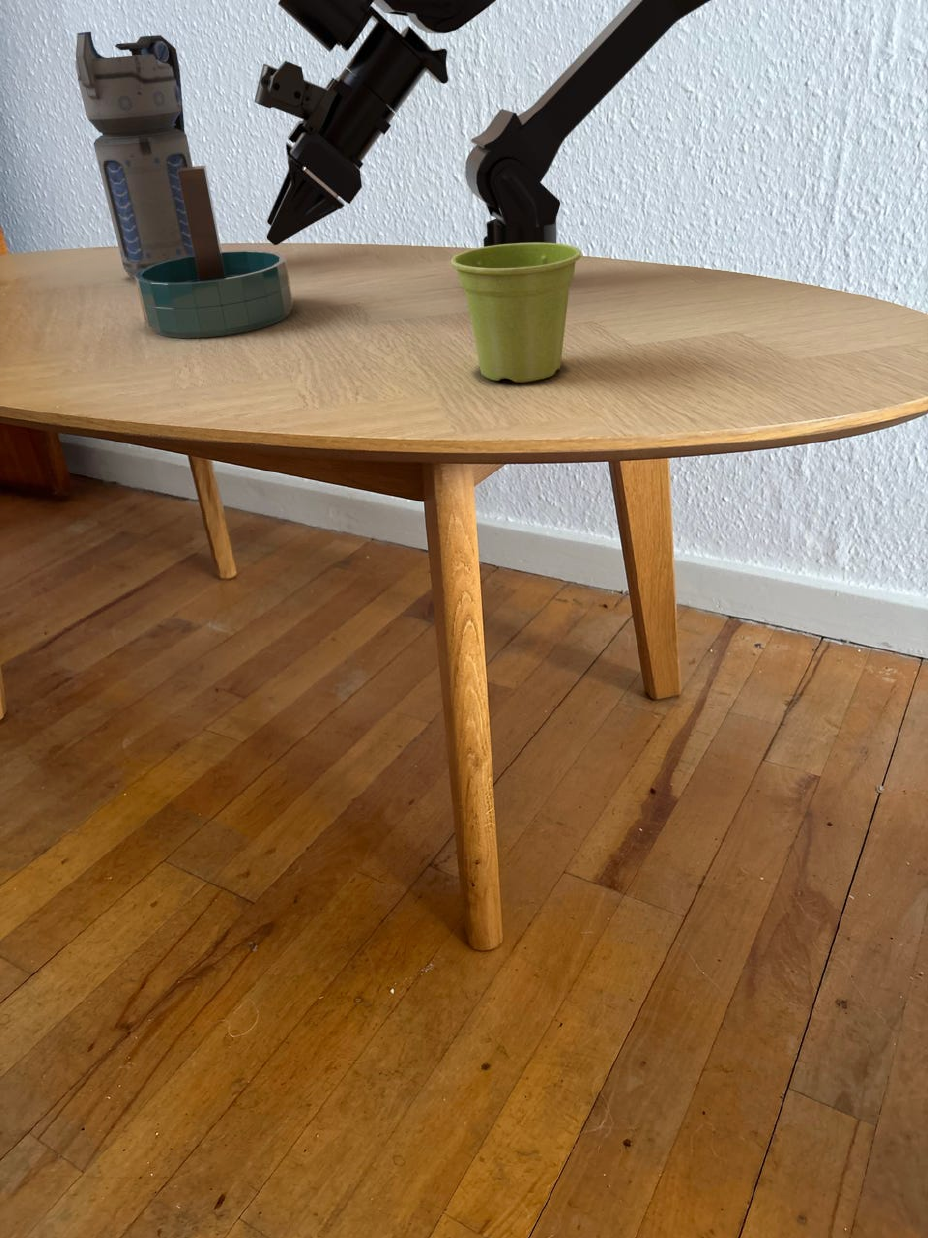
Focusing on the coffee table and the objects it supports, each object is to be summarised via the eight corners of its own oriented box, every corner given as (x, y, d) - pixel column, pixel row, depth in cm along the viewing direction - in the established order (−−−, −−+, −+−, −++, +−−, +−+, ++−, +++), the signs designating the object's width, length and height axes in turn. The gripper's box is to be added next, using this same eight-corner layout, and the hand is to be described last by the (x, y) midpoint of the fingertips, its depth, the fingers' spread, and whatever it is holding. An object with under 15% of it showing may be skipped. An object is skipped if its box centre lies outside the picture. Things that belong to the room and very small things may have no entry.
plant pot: (441, 367, 76) (431, 253, 72) (546, 346, 79) (543, 235, 75) (490, 400, 69) (483, 275, 64) (604, 376, 72) (605, 254, 67)
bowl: (321, 304, 97) (314, 252, 94) (230, 344, 87) (219, 286, 84) (214, 296, 103) (204, 247, 100) (116, 333, 93) (103, 279, 90)
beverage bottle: (243, 262, 118) (200, 24, 105) (166, 287, 109) (108, 29, 95) (182, 259, 123) (134, 30, 110) (103, 283, 113) (40, 35, 100)
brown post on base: (246, 303, 97) (220, 162, 90) (245, 315, 93) (217, 168, 86) (196, 309, 96) (166, 167, 89) (192, 321, 92) (160, 173, 85)
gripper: (295, 24, 91) (203, 163, 96) (299, 20, 76) (189, 187, 80) (387, 109, 96) (295, 237, 101) (409, 123, 81) (299, 274, 85)
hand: (270, 233), depth 92 cm, fingers open, 9 cm apart
